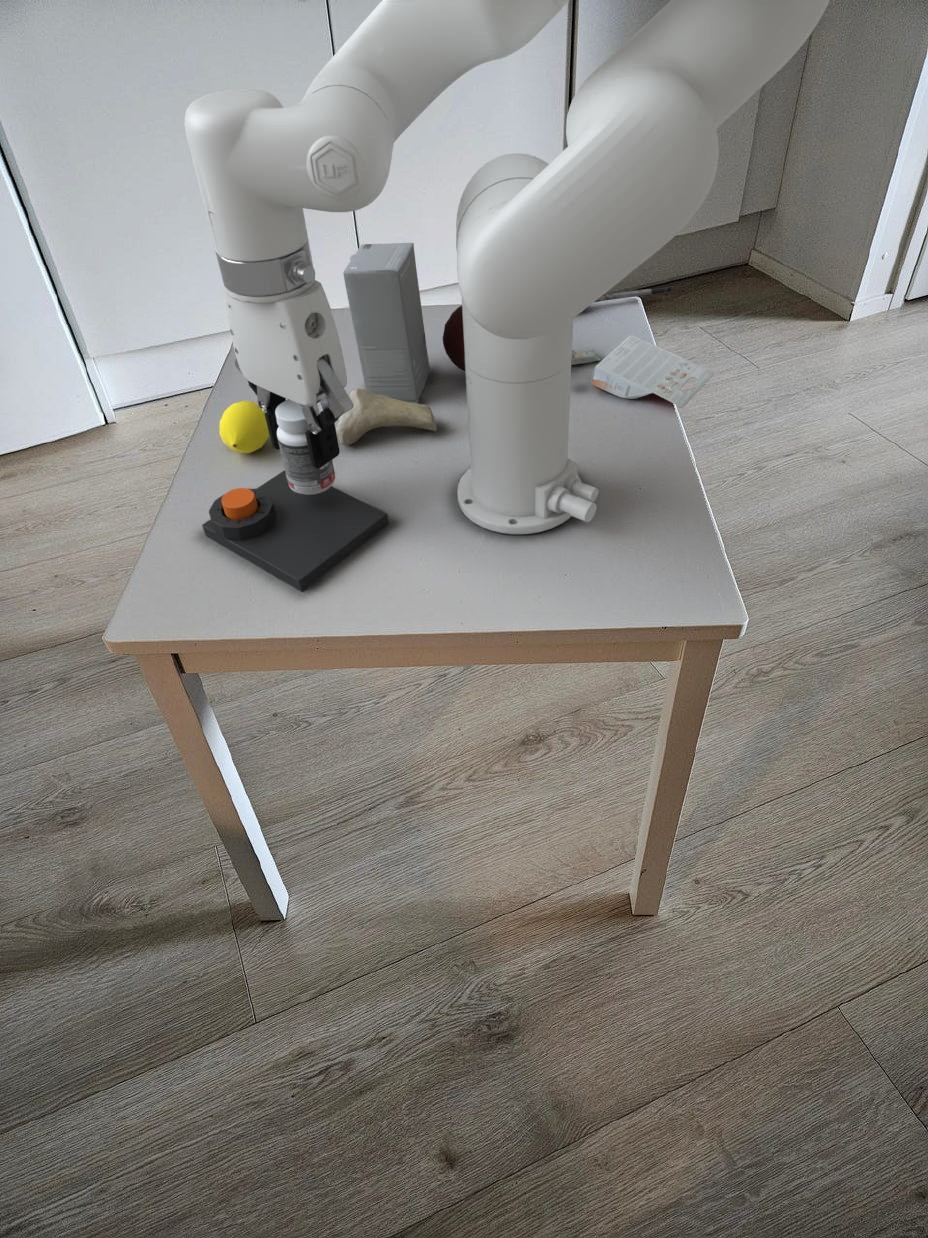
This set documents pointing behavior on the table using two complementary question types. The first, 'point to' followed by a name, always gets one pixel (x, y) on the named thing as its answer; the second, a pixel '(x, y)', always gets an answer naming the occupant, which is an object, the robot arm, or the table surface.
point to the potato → (455, 339)
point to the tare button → (239, 503)
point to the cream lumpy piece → (380, 415)
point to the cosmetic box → (388, 320)
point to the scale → (296, 530)
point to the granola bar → (583, 356)
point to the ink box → (648, 372)
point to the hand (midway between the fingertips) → (306, 449)
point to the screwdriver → (633, 294)
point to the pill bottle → (300, 452)
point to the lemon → (244, 427)
